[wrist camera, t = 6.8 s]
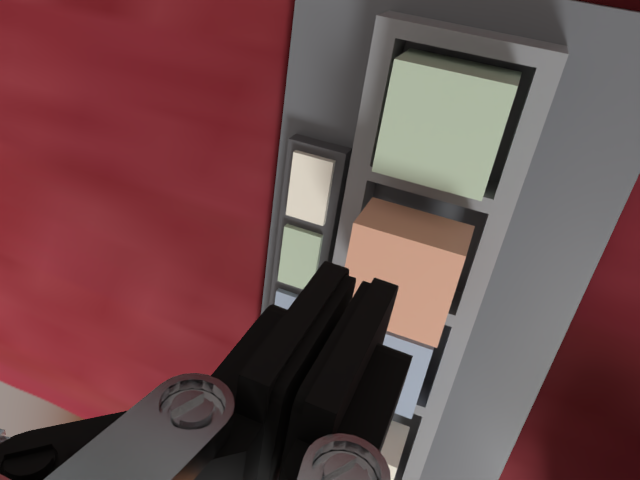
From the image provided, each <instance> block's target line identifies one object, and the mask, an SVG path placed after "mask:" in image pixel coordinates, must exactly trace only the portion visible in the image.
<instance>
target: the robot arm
mask: <svg viewBox="0 0 640 480" xmlns="http://www.w3.org/2000/svg"><path fill="white" fill-rule="evenodd" d="M355 284H356V278H354V277H351V276H349V269H348V268H346V267H343V266H340V265H337V264H334V263H331V262H328V261H324V262H323V263H322V265H321V266H320V267H319V269H318V270H317V271H316V273H315V274H314V275H313V277H312V278H311V279H310V281H309V282H308V283H307V285H306V286H305V287H304V289H303V290H302V291H301V293H300V294H299V295H298V297H297V298H296V299H295V301H294V302H293V303H292V305H291V306H290V307H289V308H288V310H287V309H285V308H282V307H279V306H277V305H274V304H272V305H269V306H268V307H267V308H266V309H265V311H264V312H263V313H262V314H261V315H260V317H259V318H258V319H257V320H256V322H255V323H254V324H253V325H252V326H251V328H250V329H249V330H248V331H247V333H246V334H245V335H244V336H243V337H242V339H241V340H240V341H239V342H238V344H237V345H236V346H235V347H234V348H233V350H232V351H231V352H230V353H229V355H228V356H227V357H226V358H225V359H224V361H223V362H222V363H221V364H220V365H219V367H218V368H217V369H216V370H215V372H214V373H213V374H212V375H211V376H210V375H205V374H199V373H190V374H182V375H178V376H175V377H172V378H170V379H168V380H167V381H165V382H163V383H162V384H160V385H159V386H158V387H156V388H155V389H154V390H153V391H152V392H150V393H149V394H148V395H147V396H145V397H144V398H143V399H142V400H141V401H139V402H138V403H137V404H136V405H134V406H133V407H132V408H131V409H129V410H128V411H124V412H119V413H115V414H110V415H105V416H100V417H95V418H90V419H85V420H80V421H75V422H70V423H66V424H60V425H56V426H51V427H46V428H41V429H36V430H31V431H28V432H24V433H21V434H18V435H15V436H13V437H6V434H5V430H3V429H0V480H391V477H390V469H389V467H388V464H387V462H386V459H385V458H384V456H383V455H382V454H381V450H382V447H383V444H384V441H385V438H386V436H387V433H388V430H389V427H390V424H391V421H392V418H393V416H394V413H395V410H396V407H397V404H398V401H399V398H400V395H401V392H402V389H403V386H404V383H405V380H406V376H407V373H408V370H409V367H410V364H411V361H412V358H413V356H412V355H409V354H406V353H404V352H401V351H398V350H396V349H393V348H390V347H388V346H385V345H383V342H384V339H385V335H386V331H387V328H388V324H389V321H390V317H391V314H392V310H393V307H394V303H395V300H396V296H397V292H398V288H399V286H398V285H395V284H392V283H390V282H387V281H384V280H381V279H378V278H374V279H373V280H372V282H371V283H369V282H366V281H362V283H361V284H360V286H359V288H358V289H357V291H356V293H355V294H354V296H353V293H354V289H355ZM352 297H353V298H352Z"/></svg>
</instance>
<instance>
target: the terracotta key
mask: <svg viewBox="0 0 640 480" xmlns="http://www.w3.org/2000/svg"><path fill="white" fill-rule="evenodd" d="M474 228H475V226H473V225H469V224H466V223H462V222H458V221H455V220H451V219H448V218H444V217H441V216H437V215H434V214H430V213H427V212H423V211H420V210H416V209H413V208H409V207H406V206H402V205H399V204H395V203H392V202H388V201H385V200H381V199H378V198H374V197H372V198H371V200H370V201H369V202H368V204H367V205H366V206H365V208H364V209H363V210H362V212H361V213H360V214H359V216H358V217H357V218H356V220H355V221H354V222H353V226H352V232H351V237H350V242H349V247H348V252H347V258H346V263H345V267H346V268H348V269H349V276H351V277H354V278H356V284H355V289H354V293H353V296H354V294H355V293H356V291H357V289H358V288H359V286H360V284H361V283H362V281H366V282H369V283H371V282H372V280H373V279H374V278H378V279H381V280H384V281H387V282H390V283H392V284H395V285H398V286H399V288H398V292H397V296H396V300H395V303H394V307H393V310H392V314H391V317H390V321H389V324H388V328H387V331H389V332H392V333H395V334H397V335H400V336H403V337H406V338H409V339H412V340H415V341H418V342H421V343H424V344H427V345H430V346H433V347H435V348H437V347H438V344H439V340H440V337H441V334H442V331H443V328H444V325H445V322H446V318H447V315H448V312H449V309H450V306H451V303H452V300H453V296H454V293H455V290H456V287H457V284H458V281H459V278H460V275H461V271H462V268H463V265H464V262H465V259H466V256H467V252H468V249H469V245H470V242H471V238H472V235H473V231H474ZM352 298H353V297H352Z"/></svg>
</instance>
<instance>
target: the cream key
mask: <svg viewBox="0 0 640 480" xmlns="http://www.w3.org/2000/svg"><path fill="white" fill-rule="evenodd" d="M409 429H410V427H408V426H406V425H403V424H400V423H398V422H395V421H391V424H390V427H389V430H388V433H387V436H386V438H385V441H384V444H383V447H382V450H381V454H382V455H383V456H384V458H385V459H386V462H387V464H388V467H389V469H390V477H391V480H394V478H395V475H396V472H397V468H398V465H399V462H400V458H401V455H402V452H403V449H404V445H405V442H406V439H407V435H408V432H409Z"/></svg>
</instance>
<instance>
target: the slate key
mask: <svg viewBox="0 0 640 480" xmlns="http://www.w3.org/2000/svg"><path fill="white" fill-rule="evenodd" d="M383 345H385V346H388V347H390V348H393V349H396V350H398V351H401V352H404V353H406V354H409V355H412V356H413V358H412V361H411V364H410V367H409V370H408V373H407V376H406V380H405V383H404V386H403V389H402V392H401V395H400V398H399V401H398V404H397V407H396V410H395V413H396V414H399V415H401V416H404V417H406V418H409V419H412V416H413V413H414V410H415V407H416V404H417V400H418V397H419V394H420V391H421V388H422V384H423V381H424V378H425V375H426V372H427V369H428V365H429V362H430V359H431V356H432V353H433V350H434V347H433V346H430V345H427V344H424V343H421V342H418V341H415V340H412V339H409V338H406V337H403V336H400V335H397V334H395V333H392V332H389V331H386V335H385V339H384V342H383Z"/></svg>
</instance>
